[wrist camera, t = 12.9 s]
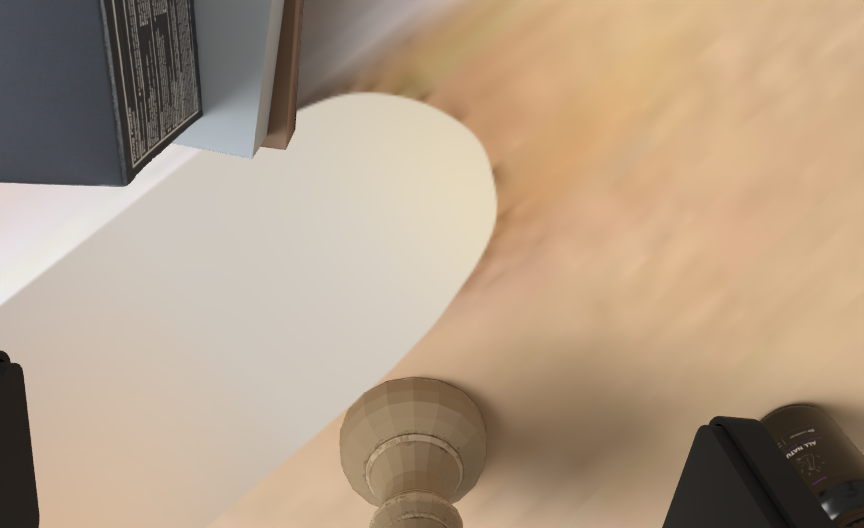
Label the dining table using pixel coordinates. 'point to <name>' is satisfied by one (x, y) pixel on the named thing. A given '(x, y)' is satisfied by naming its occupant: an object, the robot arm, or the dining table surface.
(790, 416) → the supplement bottle
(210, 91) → the tower top
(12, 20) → the small box
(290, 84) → the tower base
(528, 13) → the dining table surface
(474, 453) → the tan wooden rounded piece
